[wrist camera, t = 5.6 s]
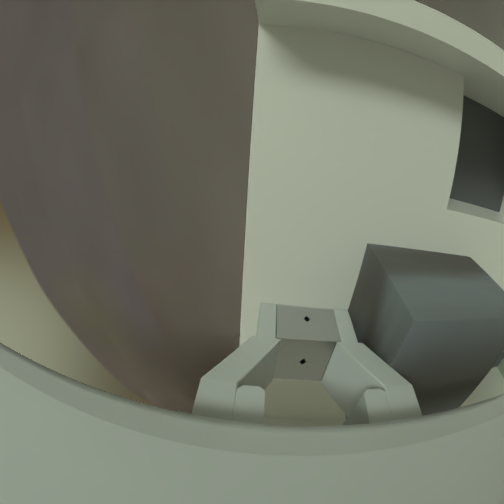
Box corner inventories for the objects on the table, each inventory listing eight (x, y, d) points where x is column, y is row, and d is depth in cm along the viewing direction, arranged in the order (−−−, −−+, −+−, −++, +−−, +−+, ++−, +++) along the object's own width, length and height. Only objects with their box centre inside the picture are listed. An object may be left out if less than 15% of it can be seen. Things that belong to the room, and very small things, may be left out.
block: (367, 243, 9) (414, 320, 5) (469, 256, 9) (525, 315, 5) (334, 349, 11) (347, 429, 7) (426, 347, 11) (455, 411, 7)
